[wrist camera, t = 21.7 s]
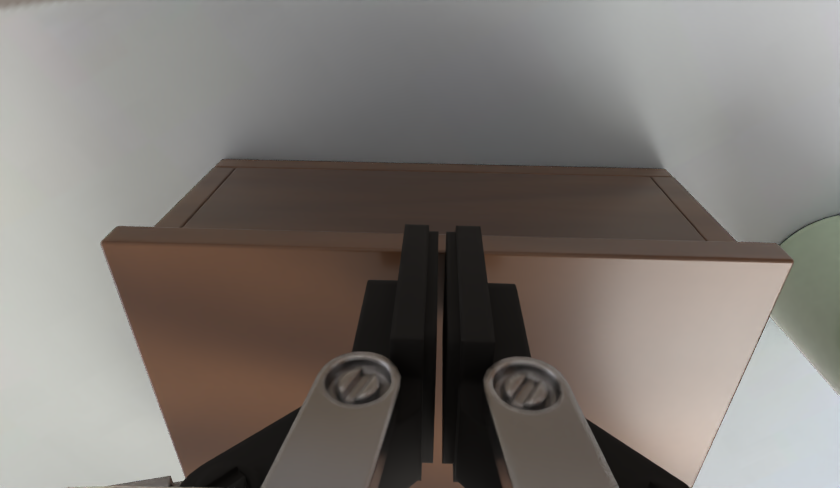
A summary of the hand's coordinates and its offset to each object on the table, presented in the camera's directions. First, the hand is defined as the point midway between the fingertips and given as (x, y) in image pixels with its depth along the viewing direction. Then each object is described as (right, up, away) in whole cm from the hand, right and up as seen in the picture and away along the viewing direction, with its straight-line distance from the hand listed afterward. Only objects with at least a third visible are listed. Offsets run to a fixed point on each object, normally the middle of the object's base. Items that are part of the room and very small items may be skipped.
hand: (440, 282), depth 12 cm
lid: (0, -6, +5) cm, 8 cm away
